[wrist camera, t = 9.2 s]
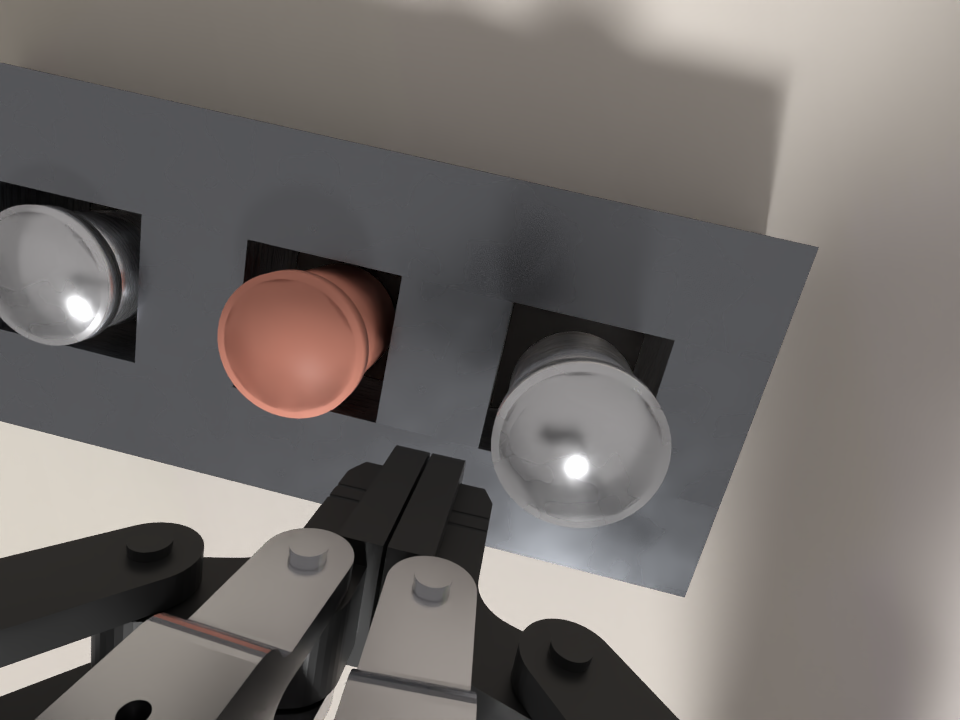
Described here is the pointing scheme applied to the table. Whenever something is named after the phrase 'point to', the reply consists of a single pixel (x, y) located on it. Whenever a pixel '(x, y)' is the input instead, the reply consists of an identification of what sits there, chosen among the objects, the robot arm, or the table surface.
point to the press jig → (418, 319)
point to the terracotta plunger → (304, 337)
